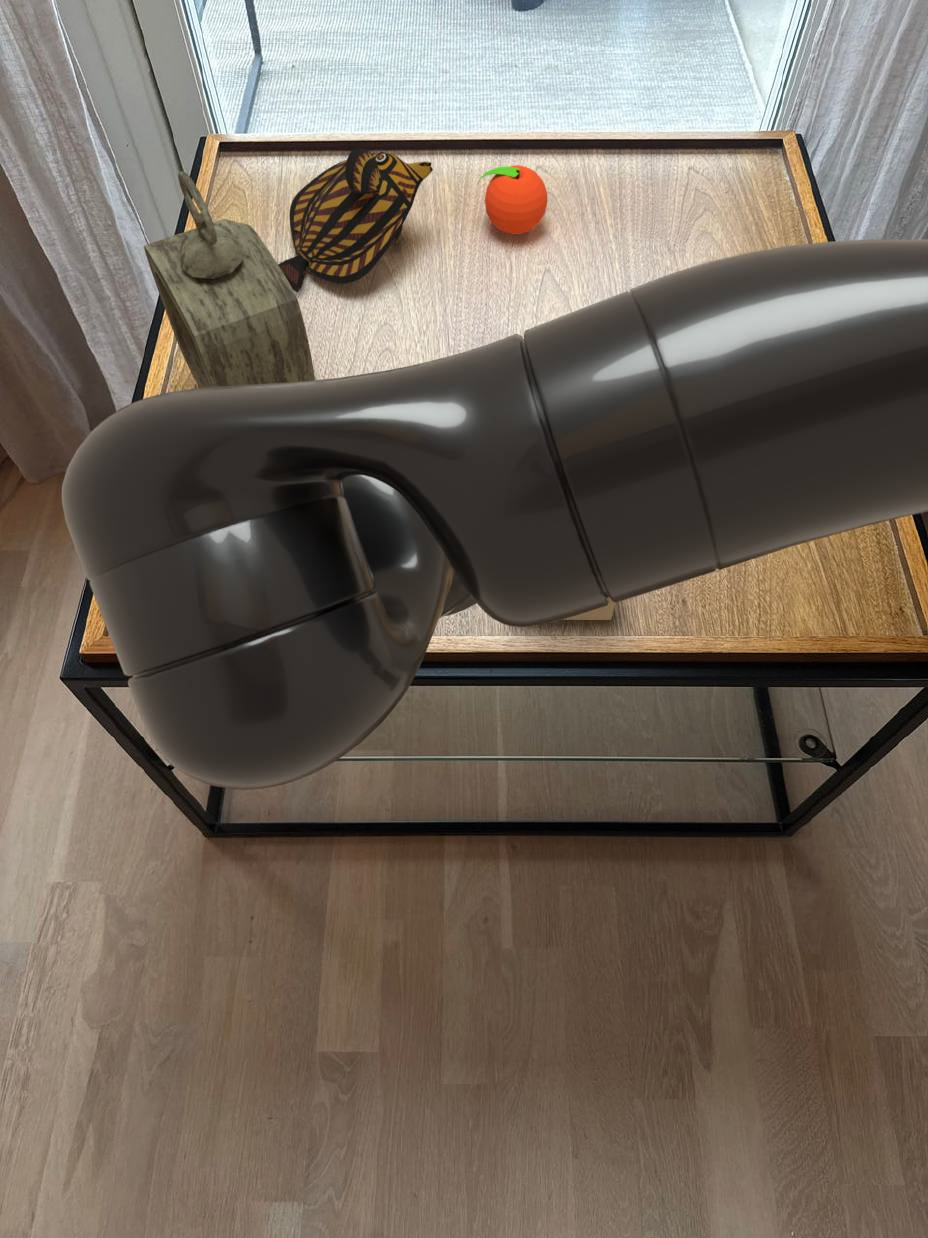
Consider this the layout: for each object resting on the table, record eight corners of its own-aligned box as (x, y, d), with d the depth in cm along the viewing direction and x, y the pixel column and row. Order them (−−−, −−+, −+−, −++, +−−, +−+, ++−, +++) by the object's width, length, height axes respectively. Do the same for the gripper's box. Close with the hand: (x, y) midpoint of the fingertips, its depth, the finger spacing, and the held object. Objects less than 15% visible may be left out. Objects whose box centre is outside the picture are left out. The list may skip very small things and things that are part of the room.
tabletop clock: (190, 379, 93) (106, 146, 71) (273, 348, 95) (216, 113, 73) (244, 479, 87) (170, 257, 65) (331, 444, 89) (288, 217, 67)
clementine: (468, 239, 103) (468, 182, 97) (484, 201, 107) (485, 143, 100) (537, 252, 102) (541, 195, 96) (551, 213, 105) (556, 155, 99)
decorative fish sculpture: (406, 309, 98) (399, 214, 88) (265, 284, 100) (242, 187, 90) (440, 225, 104) (438, 127, 94) (307, 203, 106) (291, 105, 96)
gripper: (628, 499, 37) (670, 475, 52) (324, 384, 40) (446, 393, 55) (564, 663, 40) (622, 595, 55) (282, 543, 43) (410, 510, 58)
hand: (533, 493), depth 55 cm, fingers open, 8 cm apart
